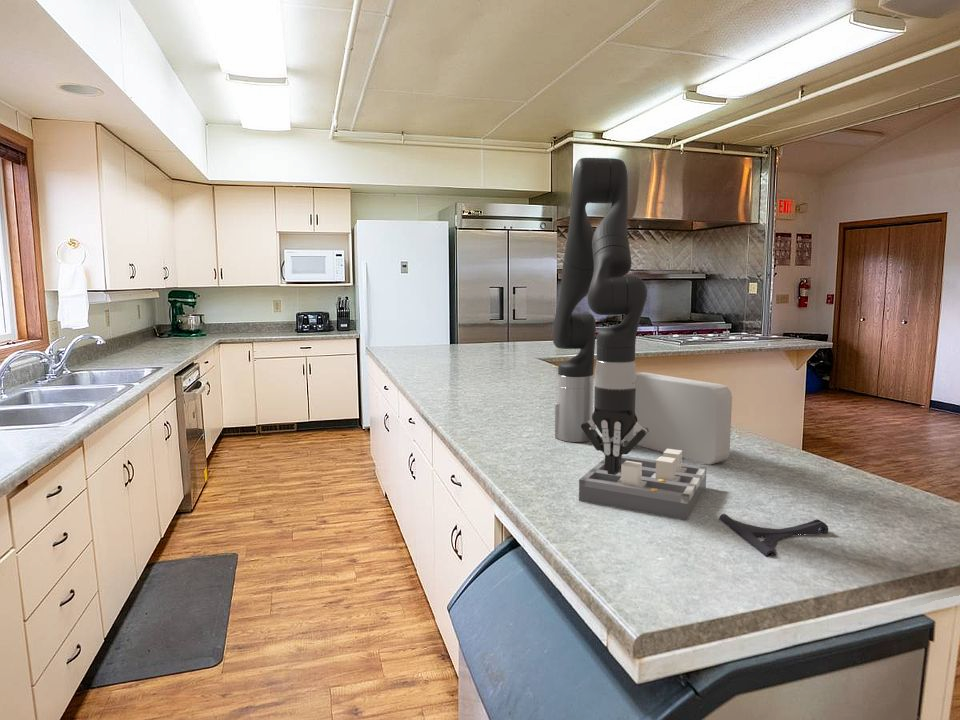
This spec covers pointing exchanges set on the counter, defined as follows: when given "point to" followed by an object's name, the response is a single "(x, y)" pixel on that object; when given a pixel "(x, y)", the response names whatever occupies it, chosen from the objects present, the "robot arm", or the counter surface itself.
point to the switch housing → (645, 490)
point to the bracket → (771, 533)
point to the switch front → (632, 474)
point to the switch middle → (666, 469)
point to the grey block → (684, 416)
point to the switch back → (678, 456)
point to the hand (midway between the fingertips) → (613, 473)
